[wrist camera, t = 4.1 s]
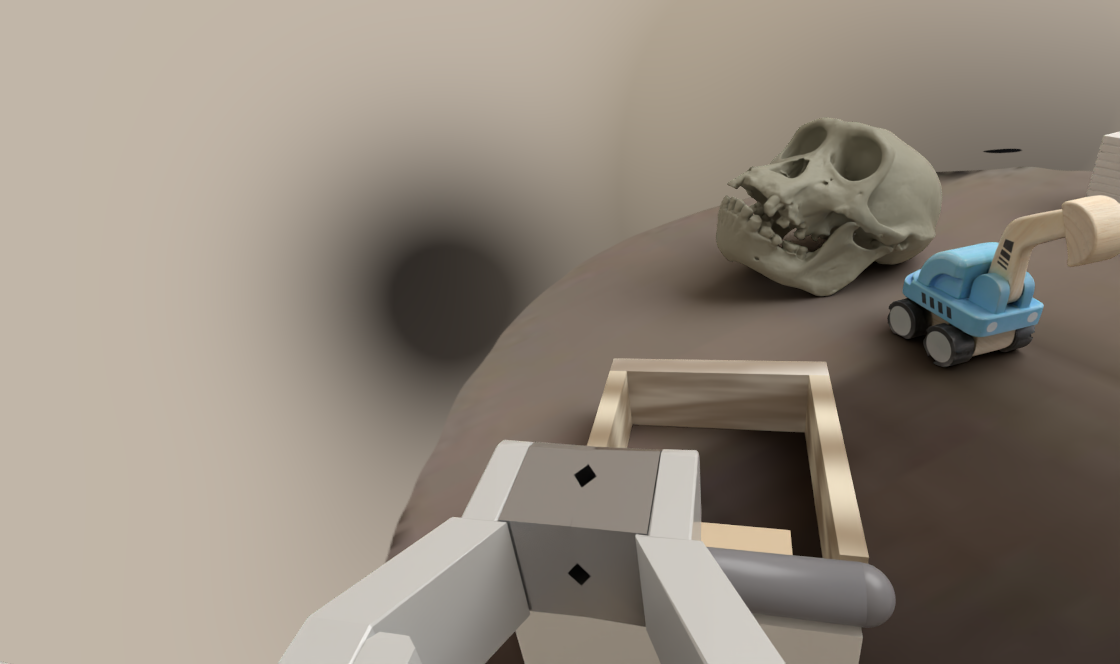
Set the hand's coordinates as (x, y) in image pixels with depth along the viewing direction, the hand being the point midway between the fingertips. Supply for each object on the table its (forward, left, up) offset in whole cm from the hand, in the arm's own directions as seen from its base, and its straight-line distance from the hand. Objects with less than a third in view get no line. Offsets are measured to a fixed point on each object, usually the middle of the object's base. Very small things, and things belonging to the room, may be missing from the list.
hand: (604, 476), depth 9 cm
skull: (+59, -41, -30) cm, 78 cm away
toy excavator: (+35, -43, -30) cm, 63 cm away
